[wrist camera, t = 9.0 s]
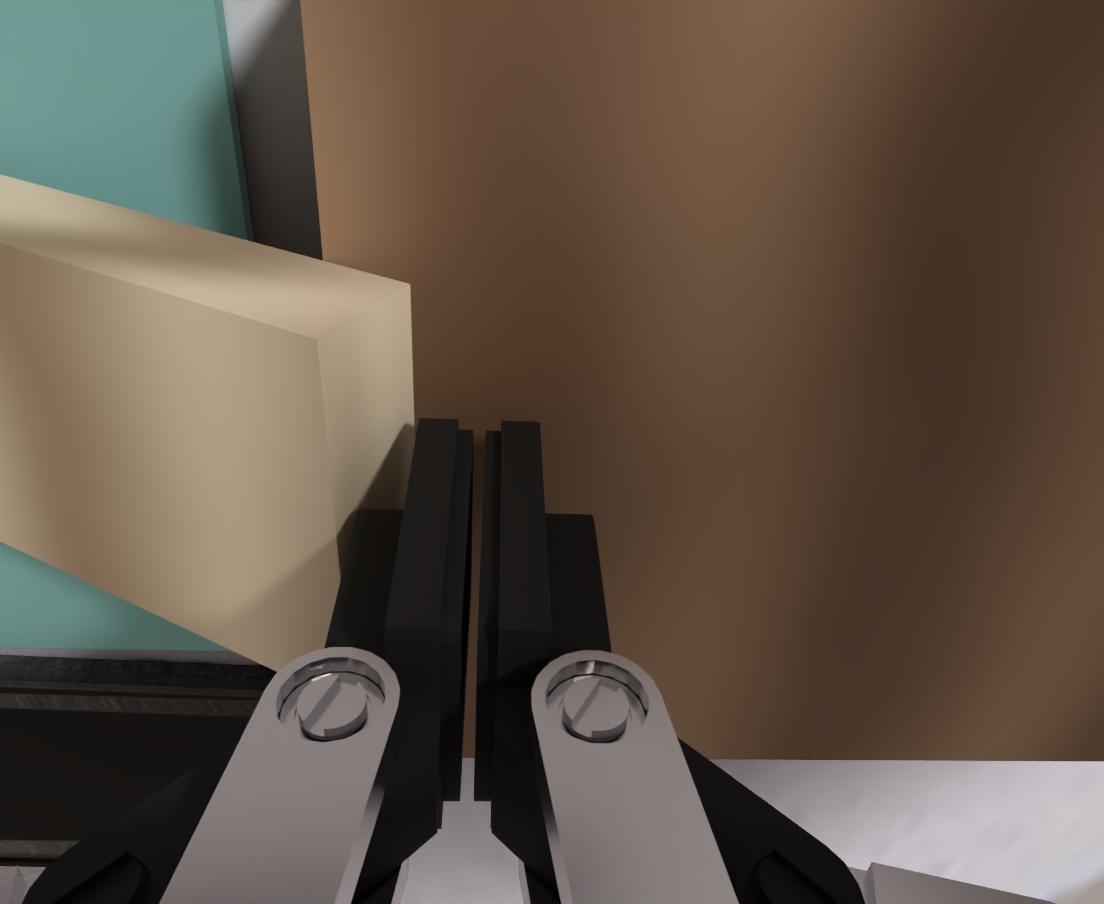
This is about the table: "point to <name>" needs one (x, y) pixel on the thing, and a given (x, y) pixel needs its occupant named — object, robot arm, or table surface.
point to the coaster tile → (195, 415)
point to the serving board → (766, 336)
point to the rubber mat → (123, 180)
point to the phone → (105, 740)
